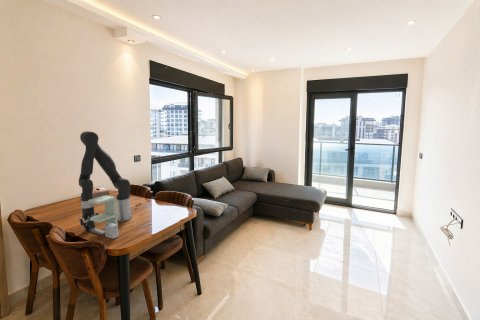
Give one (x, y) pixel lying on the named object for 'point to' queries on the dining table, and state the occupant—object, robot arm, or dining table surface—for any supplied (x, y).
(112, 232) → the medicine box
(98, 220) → the shelf unit
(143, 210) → the dining table surface
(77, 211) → the dining table surface
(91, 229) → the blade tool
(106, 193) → the tissue box cover
